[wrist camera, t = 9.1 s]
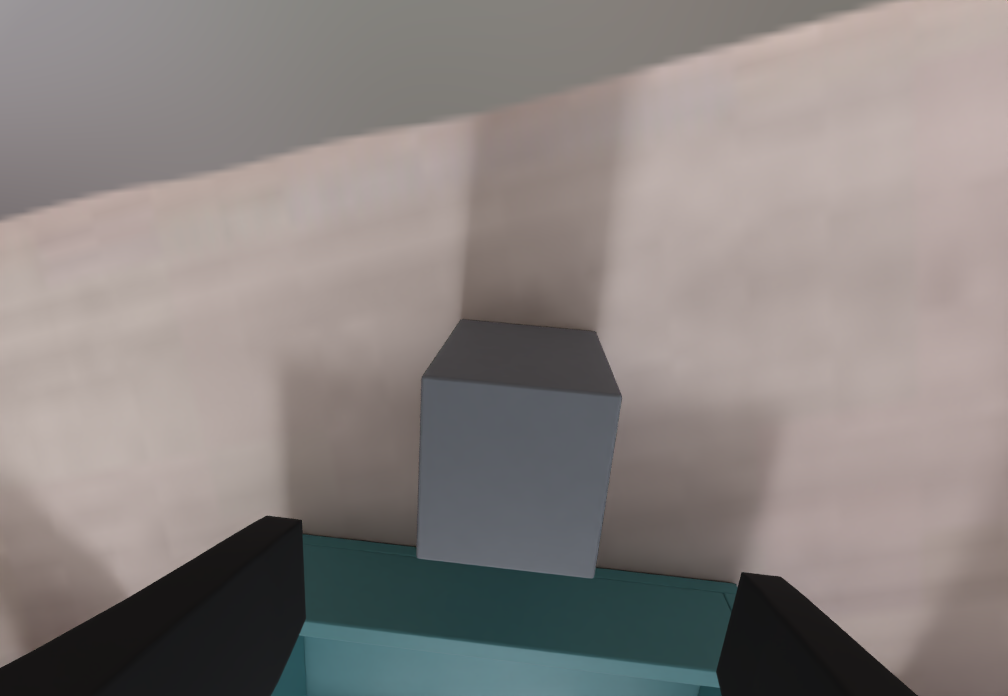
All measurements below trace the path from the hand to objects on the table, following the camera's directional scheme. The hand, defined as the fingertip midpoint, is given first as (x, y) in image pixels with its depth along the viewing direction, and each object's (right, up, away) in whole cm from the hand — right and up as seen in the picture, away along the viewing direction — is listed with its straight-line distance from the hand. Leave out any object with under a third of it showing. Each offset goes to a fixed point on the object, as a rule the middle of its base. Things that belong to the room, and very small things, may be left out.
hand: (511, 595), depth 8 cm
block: (0, +3, +7) cm, 8 cm away
